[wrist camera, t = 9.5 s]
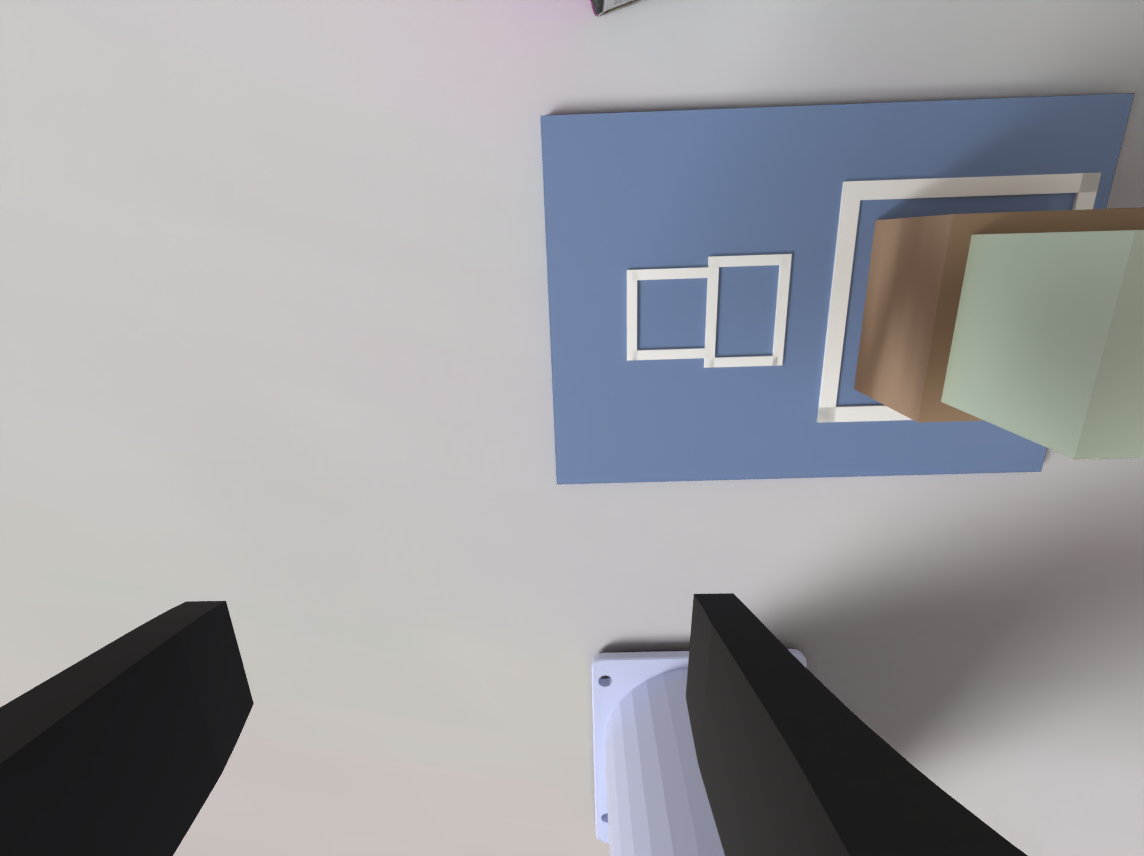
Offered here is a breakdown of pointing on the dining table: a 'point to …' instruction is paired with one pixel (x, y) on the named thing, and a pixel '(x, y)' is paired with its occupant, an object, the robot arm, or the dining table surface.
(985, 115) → the blueprint mat
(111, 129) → the dining table surface
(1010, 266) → the sage cube
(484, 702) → the dining table surface
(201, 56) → the dining table surface
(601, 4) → the candy bar box
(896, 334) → the brown block
